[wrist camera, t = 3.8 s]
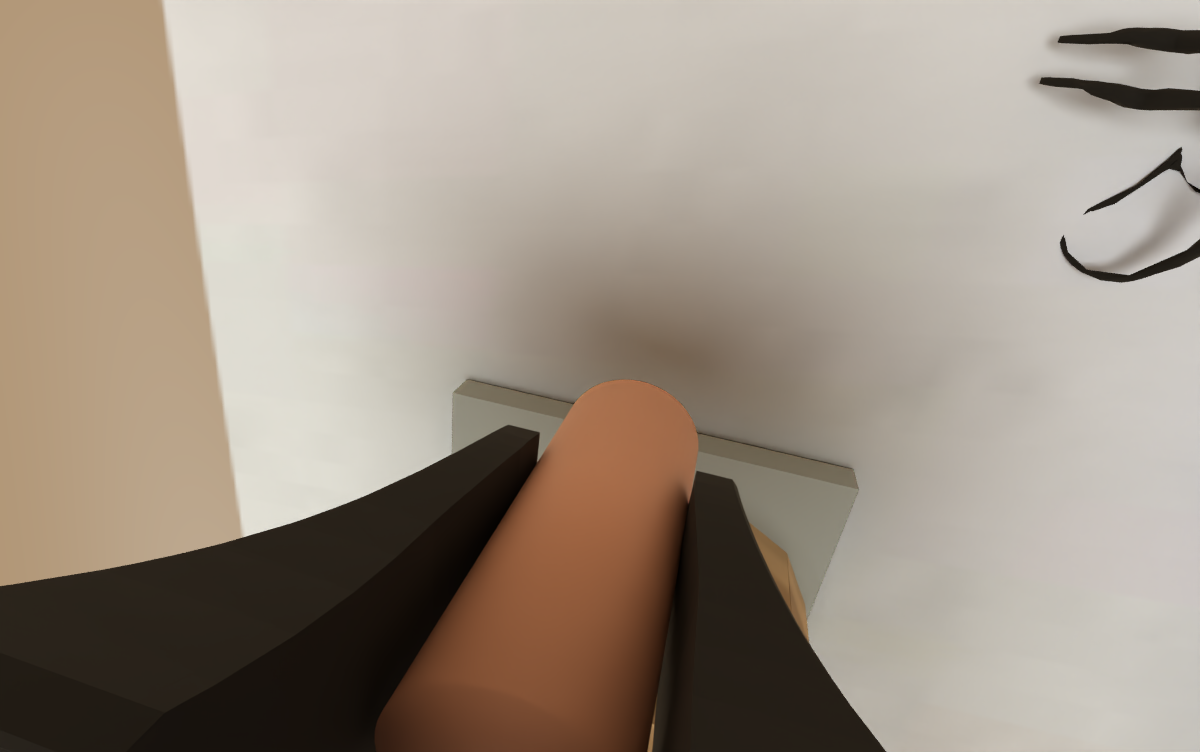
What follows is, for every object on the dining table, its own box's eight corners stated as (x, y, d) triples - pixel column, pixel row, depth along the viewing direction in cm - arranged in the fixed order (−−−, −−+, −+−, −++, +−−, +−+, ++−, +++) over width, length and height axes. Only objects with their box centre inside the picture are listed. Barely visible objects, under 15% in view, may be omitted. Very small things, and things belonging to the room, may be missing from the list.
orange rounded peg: (683, 511, 13) (613, 903, 6) (558, 479, 13) (378, 816, 7) (711, 397, 11) (659, 742, 5) (573, 366, 12) (369, 648, 6)
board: (729, 791, 24) (728, 817, 23) (456, 701, 26) (446, 723, 25) (853, 469, 17) (858, 489, 16) (467, 379, 19) (452, 392, 18)
